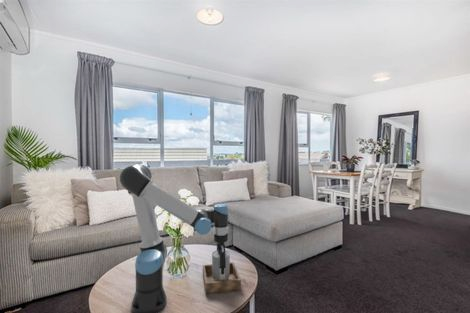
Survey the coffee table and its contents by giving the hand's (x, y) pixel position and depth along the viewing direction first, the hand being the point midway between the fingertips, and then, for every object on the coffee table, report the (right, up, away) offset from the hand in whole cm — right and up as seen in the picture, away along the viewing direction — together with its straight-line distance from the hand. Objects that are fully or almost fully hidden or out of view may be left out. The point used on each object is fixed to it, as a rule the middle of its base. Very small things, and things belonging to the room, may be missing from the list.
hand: (220, 274), depth 127 cm
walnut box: (0, -4, 0) cm, 4 cm away
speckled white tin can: (0, -1, 0) cm, 1 cm away
